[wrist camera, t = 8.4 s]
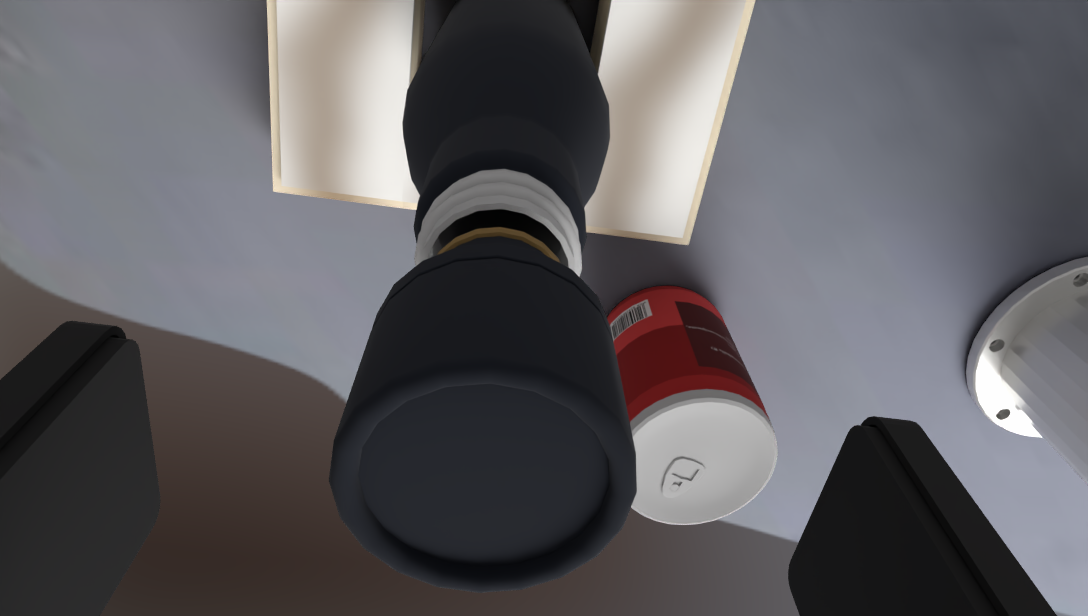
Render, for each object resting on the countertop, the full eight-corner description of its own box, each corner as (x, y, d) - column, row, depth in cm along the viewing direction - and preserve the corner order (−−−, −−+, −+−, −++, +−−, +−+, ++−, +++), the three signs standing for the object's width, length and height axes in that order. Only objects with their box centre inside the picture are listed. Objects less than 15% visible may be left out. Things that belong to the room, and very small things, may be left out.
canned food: (582, 386, 45) (599, 519, 36) (609, 271, 41) (635, 387, 32) (702, 400, 46) (749, 534, 37) (739, 289, 42) (802, 407, 33)
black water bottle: (502, -62, 33) (426, 133, 7) (607, 35, 35) (852, 465, 9) (418, 52, 35) (122, 521, 9) (521, 136, 37) (519, 709, 11)
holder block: (754, -101, 32) (785, -99, 29) (673, 213, 40) (690, 248, 36) (290, -183, 30) (257, -193, 27) (296, 163, 38) (270, 194, 34)
